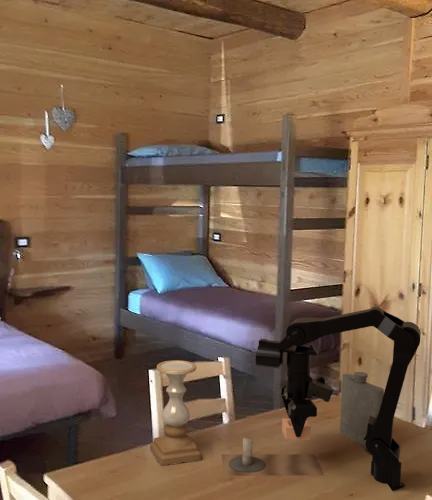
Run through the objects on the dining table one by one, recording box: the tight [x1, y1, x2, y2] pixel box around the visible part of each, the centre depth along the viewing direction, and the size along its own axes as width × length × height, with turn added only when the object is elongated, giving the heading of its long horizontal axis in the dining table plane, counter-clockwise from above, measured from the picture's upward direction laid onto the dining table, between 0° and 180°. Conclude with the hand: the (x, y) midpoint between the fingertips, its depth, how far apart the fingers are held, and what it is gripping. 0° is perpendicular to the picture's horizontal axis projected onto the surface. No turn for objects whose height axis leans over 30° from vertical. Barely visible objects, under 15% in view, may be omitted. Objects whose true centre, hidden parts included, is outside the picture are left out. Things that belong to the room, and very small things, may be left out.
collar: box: [281, 418, 312, 441], centre depth 164 cm, size 6×6×3 cm
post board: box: [221, 436, 325, 477], centre depth 164 cm, size 24×12×8 cm, turn 93°
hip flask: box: [339, 371, 385, 454], centre depth 181 cm, size 16×4×20 cm, turn 26°
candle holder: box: [149, 359, 202, 466], centre depth 171 cm, size 11×11×24 cm
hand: (296, 431), depth 164 cm, fingers closed on collar, 6 cm apart
